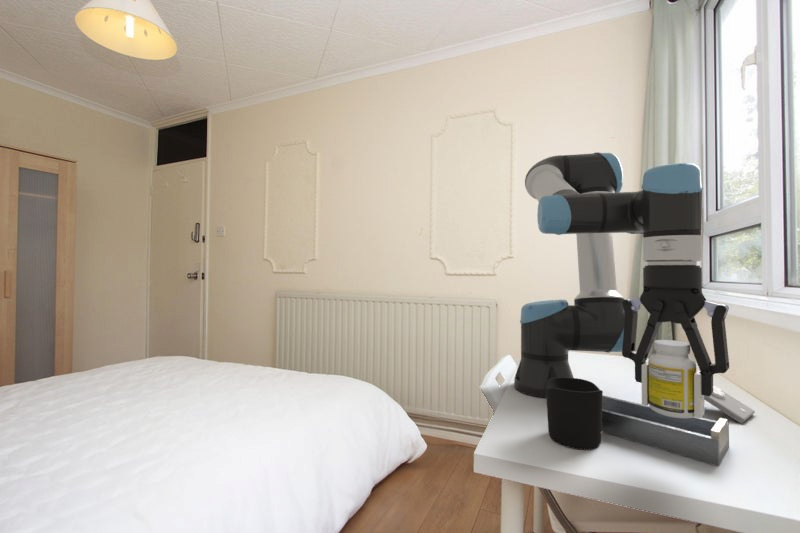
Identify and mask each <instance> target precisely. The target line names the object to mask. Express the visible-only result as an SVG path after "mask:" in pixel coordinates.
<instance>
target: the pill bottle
mask: <svg viewBox="0 0 800 533" xmlns="http://www.w3.org/2000/svg"><path fill="white" fill-rule="evenodd" d="M653 351H655V353H652V354H650V356H648V359H647V360H648V361H647V362H648V373H649V404H648V406H650V408H651V409H652V410H653V411H655V412H657V413H659V414H662V415H665V416H669V417H674V418H693V417H694V374H695V373H696V372H697V362H695V361H696V360H694V359H693V358H691V357H690V356H689V355H690V354H691V346H690V343H689V342H685V341H680V340H672V339H670V340H669V339H656V340H655V339H654V342H653Z"/></svg>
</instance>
